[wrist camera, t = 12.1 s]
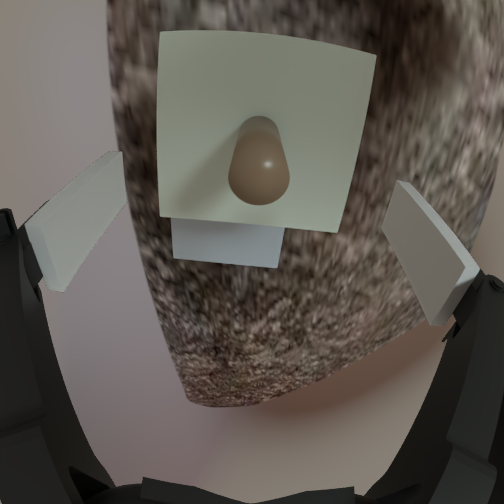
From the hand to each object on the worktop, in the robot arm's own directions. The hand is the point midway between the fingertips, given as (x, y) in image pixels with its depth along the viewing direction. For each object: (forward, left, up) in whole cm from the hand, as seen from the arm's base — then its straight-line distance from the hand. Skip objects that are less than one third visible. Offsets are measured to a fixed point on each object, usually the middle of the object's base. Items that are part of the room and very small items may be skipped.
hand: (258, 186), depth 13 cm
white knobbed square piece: (0, 0, -14) cm, 14 cm away
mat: (+3, +17, -26) cm, 31 cm away
